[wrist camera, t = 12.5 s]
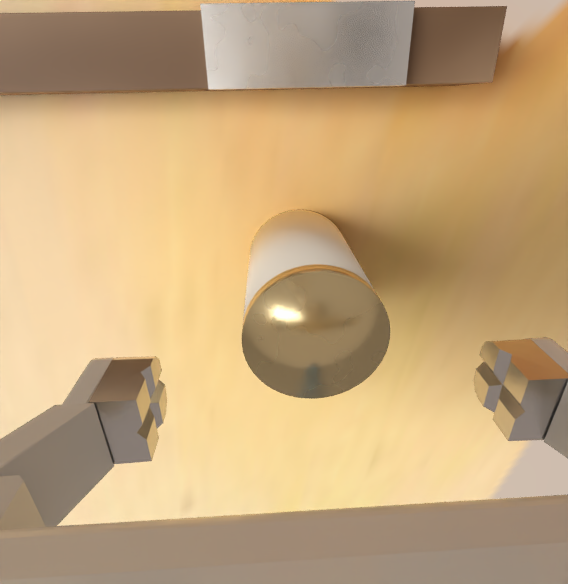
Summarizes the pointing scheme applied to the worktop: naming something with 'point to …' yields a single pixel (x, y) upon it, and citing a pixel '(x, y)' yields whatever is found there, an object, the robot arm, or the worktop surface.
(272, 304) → the round canister
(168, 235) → the worktop surface
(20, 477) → the robot arm
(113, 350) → the worktop surface
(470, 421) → the worktop surface
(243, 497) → the worktop surface
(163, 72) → the walnut fence
